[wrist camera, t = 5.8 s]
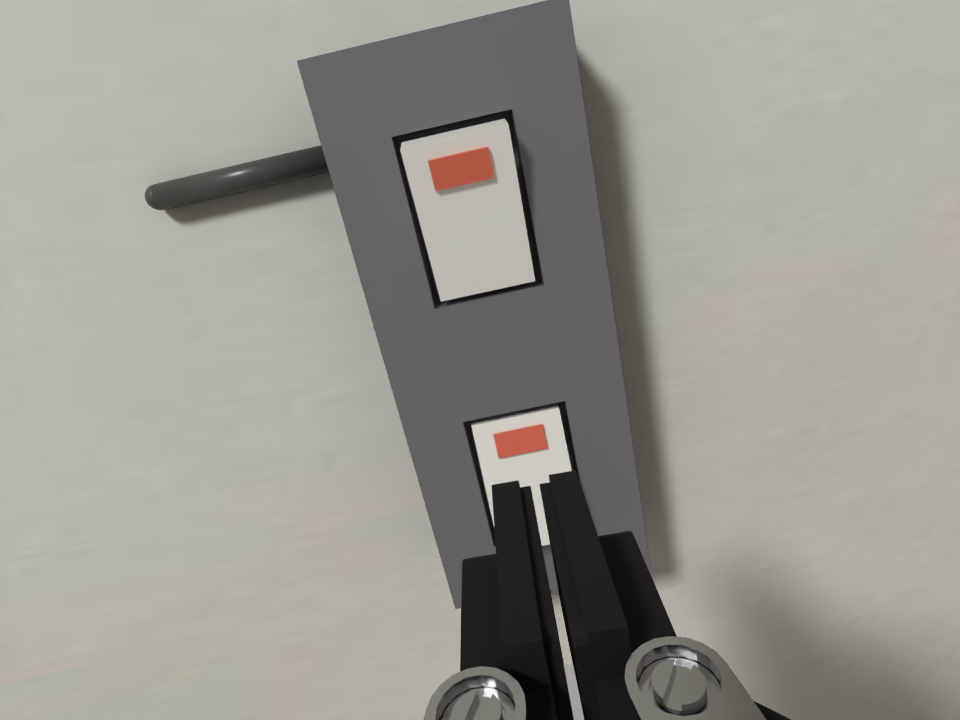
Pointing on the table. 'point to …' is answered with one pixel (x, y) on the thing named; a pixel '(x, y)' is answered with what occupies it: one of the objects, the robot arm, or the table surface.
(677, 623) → the table surface
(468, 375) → the rocker switch panel
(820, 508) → the table surface
